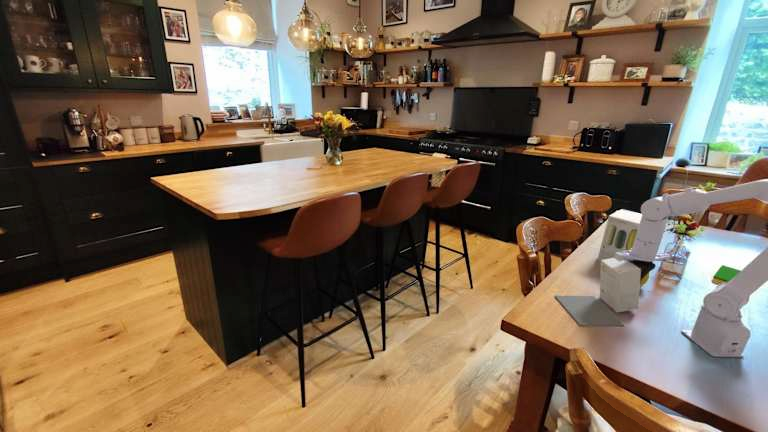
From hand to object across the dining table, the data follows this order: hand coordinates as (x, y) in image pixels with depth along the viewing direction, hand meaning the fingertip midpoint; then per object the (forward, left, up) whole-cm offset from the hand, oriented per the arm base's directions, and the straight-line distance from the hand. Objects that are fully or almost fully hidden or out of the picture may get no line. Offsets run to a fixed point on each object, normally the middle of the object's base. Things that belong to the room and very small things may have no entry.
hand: (634, 282), depth 103 cm
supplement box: (+29, -18, -8) cm, 35 cm away
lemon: (+11, -10, -8) cm, 17 cm away
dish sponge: (+16, -47, -8) cm, 51 cm away
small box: (0, +3, -7) cm, 8 cm away
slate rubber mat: (-3, +14, -7) cm, 16 cm away
